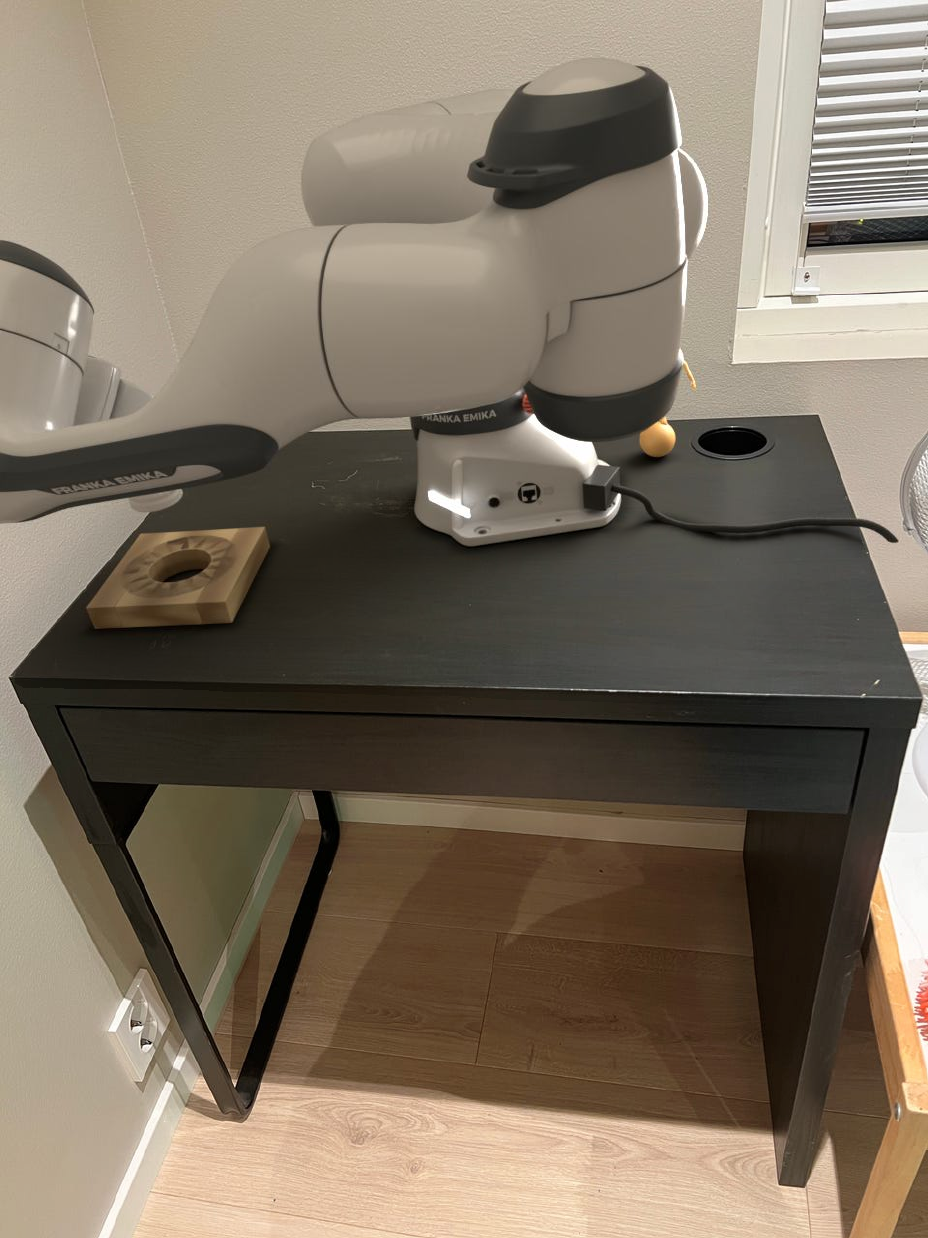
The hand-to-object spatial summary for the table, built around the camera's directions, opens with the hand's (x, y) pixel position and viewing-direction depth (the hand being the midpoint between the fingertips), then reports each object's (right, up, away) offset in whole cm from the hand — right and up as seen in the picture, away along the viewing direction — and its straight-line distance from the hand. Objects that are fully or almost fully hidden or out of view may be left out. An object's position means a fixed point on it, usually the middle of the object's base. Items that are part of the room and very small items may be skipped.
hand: (146, 451), depth 86 cm
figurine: (+52, +4, +21) cm, 56 cm away
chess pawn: (0, -4, +2) cm, 5 cm away
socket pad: (+1, -12, +8) cm, 15 cm away
